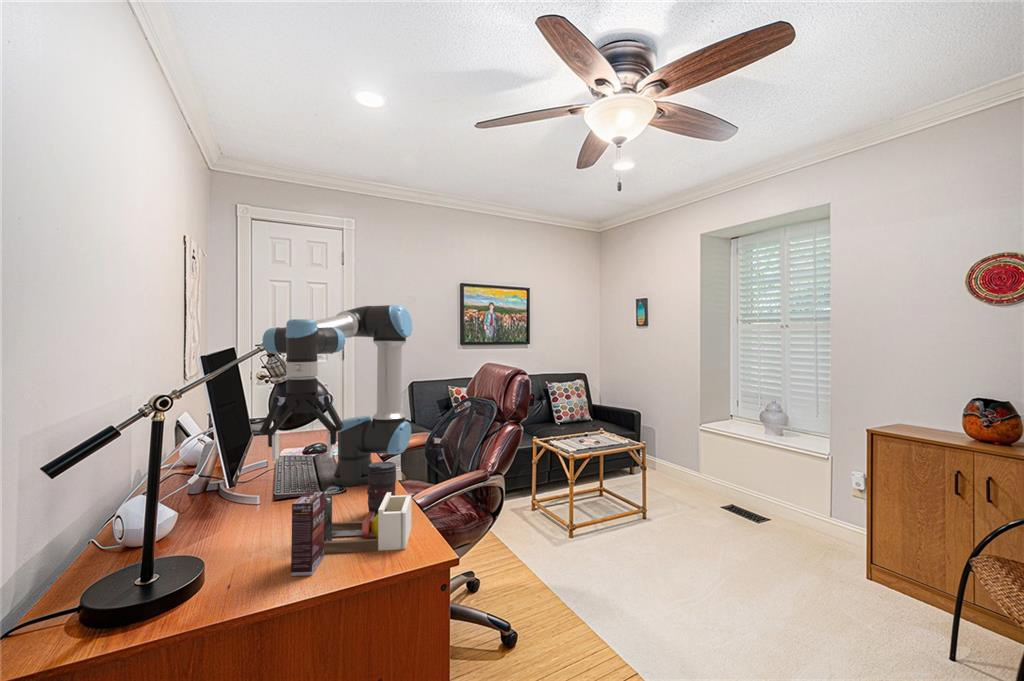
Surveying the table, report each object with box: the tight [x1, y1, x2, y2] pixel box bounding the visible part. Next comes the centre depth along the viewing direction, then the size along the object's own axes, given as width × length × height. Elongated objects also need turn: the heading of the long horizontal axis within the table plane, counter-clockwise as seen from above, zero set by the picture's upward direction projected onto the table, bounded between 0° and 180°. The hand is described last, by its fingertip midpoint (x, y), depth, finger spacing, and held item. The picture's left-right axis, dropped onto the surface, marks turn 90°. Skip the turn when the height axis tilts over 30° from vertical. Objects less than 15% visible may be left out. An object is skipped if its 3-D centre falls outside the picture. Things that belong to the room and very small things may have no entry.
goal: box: [377, 492, 412, 552], centre depth 119 cm, size 13×7×10 cm, turn 6°
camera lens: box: [366, 461, 397, 517], centre depth 135 cm, size 8×8×15 cm
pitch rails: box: [324, 520, 378, 554], centre depth 117 cm, size 13×17×2 cm
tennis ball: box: [371, 511, 388, 539], centre depth 118 cm, size 7×7×7 cm
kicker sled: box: [324, 495, 374, 541], centre depth 117 cm, size 8×14×11 cm, turn 97°
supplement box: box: [290, 491, 326, 577], centre depth 104 cm, size 9×5×16 cm, turn 5°
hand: (303, 458), depth 120 cm, fingers open, 13 cm apart
